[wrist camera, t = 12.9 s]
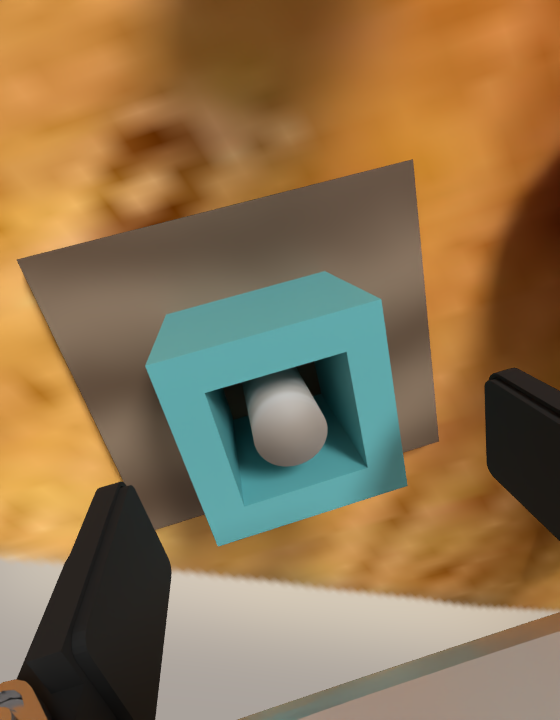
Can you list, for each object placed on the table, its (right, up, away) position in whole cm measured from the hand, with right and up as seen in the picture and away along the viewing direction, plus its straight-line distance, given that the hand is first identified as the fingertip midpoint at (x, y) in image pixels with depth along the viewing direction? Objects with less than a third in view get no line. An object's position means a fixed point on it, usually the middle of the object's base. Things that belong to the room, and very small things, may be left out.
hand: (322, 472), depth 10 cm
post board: (-2, +3, +9) cm, 10 cm away
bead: (-2, +3, +8) cm, 9 cm away
